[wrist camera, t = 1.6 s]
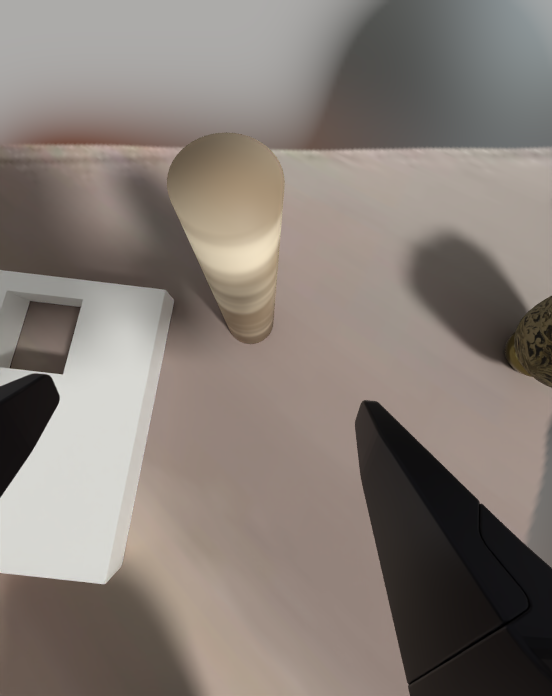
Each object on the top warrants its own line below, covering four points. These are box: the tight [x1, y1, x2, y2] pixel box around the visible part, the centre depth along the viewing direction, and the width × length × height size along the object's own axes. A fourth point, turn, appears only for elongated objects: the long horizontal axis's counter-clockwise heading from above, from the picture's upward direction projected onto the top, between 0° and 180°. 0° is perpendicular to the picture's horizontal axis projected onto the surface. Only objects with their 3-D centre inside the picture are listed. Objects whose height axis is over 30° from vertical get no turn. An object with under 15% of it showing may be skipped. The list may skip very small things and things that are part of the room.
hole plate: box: [0, 270, 174, 584], centre depth 19 cm, size 18×12×2 cm, turn 174°
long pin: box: [167, 133, 285, 344], centre depth 15 cm, size 3×3×14 cm
